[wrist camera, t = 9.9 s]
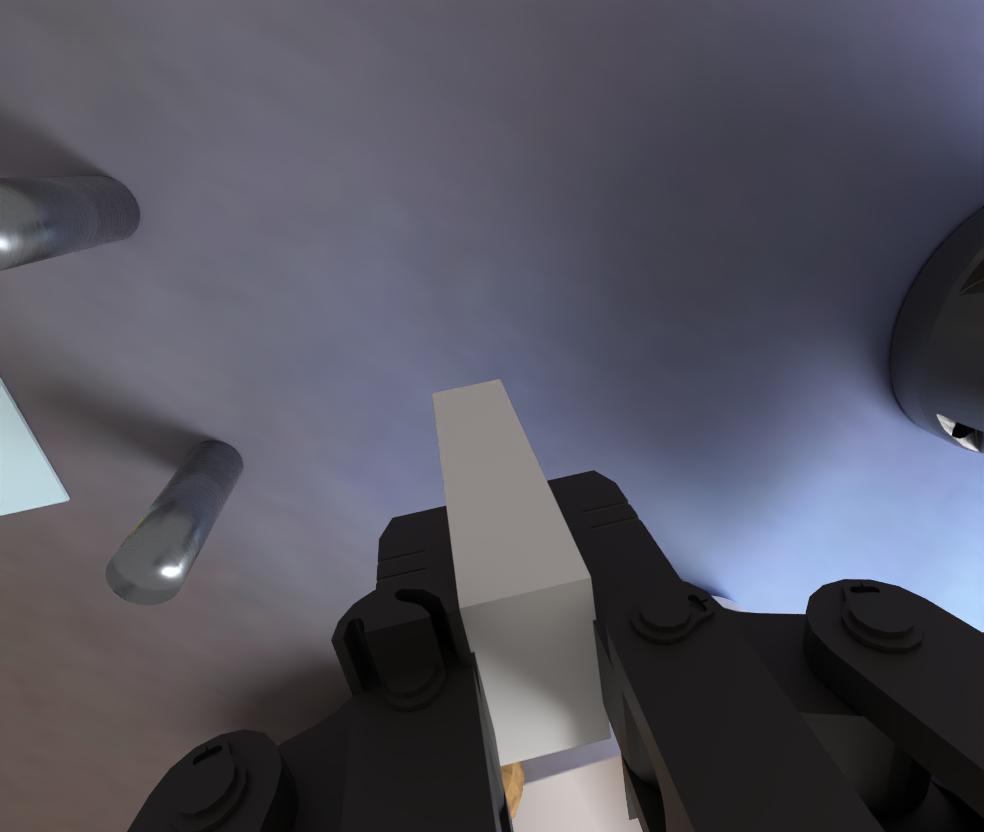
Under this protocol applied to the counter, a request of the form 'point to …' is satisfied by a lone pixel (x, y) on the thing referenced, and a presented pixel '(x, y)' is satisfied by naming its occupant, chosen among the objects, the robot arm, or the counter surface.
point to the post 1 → (61, 216)
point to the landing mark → (23, 464)
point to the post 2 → (175, 526)
